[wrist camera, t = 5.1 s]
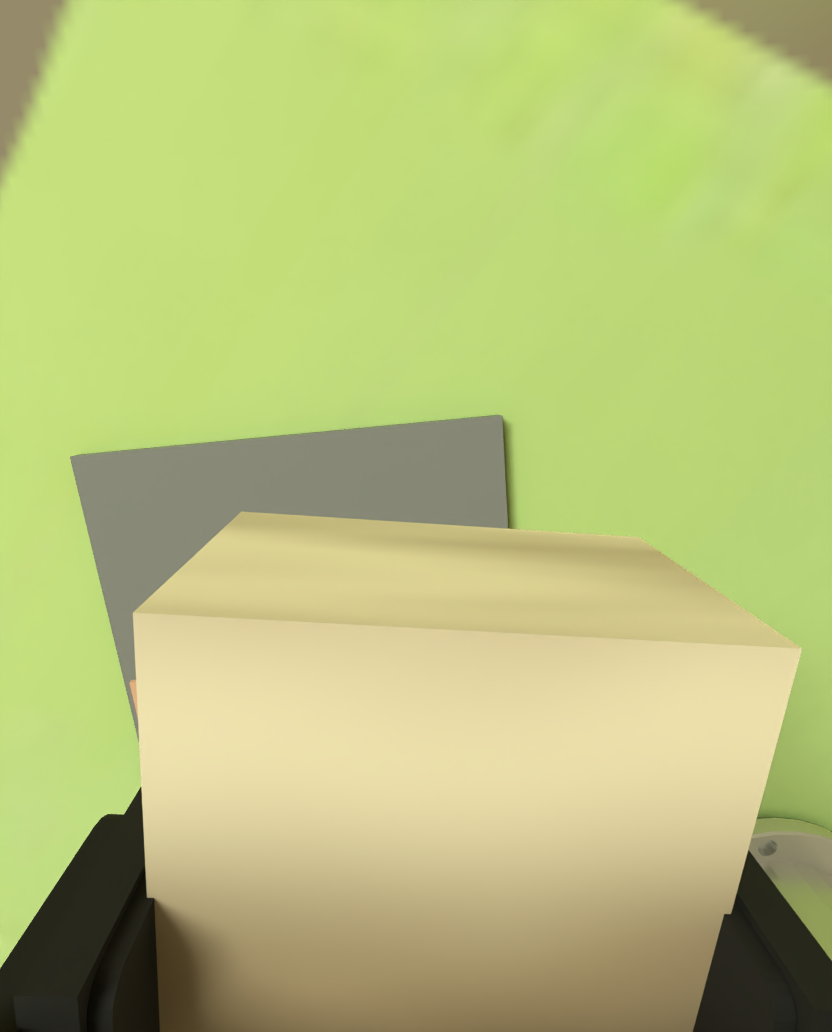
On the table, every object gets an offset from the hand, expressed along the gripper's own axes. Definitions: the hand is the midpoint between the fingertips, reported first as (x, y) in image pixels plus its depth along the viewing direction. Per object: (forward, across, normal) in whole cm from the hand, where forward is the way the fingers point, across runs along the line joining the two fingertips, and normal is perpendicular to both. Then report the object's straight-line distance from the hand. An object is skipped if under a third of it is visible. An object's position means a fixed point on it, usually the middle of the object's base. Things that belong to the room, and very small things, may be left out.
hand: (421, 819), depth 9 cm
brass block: (+1, 0, 0) cm, 1 cm away
